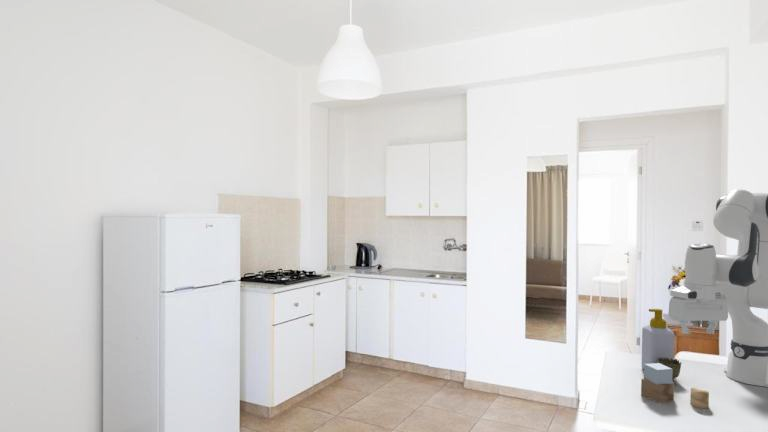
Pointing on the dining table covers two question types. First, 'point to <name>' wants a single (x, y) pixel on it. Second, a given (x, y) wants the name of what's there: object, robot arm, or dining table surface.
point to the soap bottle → (657, 340)
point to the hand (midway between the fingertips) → (697, 333)
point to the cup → (671, 366)
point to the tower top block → (658, 373)
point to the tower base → (657, 391)
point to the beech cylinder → (699, 398)
